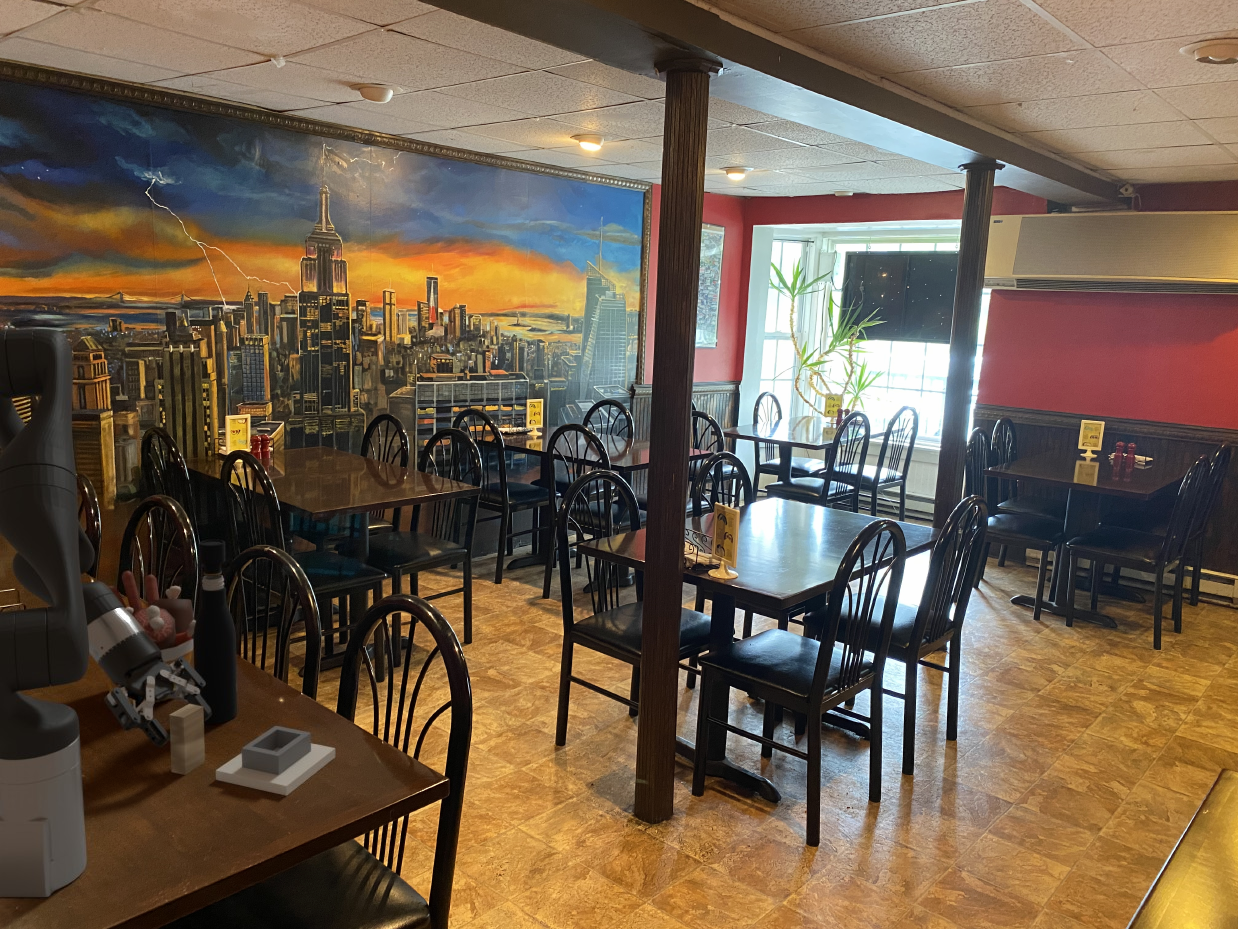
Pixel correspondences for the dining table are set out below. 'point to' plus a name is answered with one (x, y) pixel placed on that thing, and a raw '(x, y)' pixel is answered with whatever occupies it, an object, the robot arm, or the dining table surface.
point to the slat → (187, 739)
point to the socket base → (276, 761)
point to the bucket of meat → (160, 619)
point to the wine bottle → (215, 638)
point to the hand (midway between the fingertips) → (186, 730)
